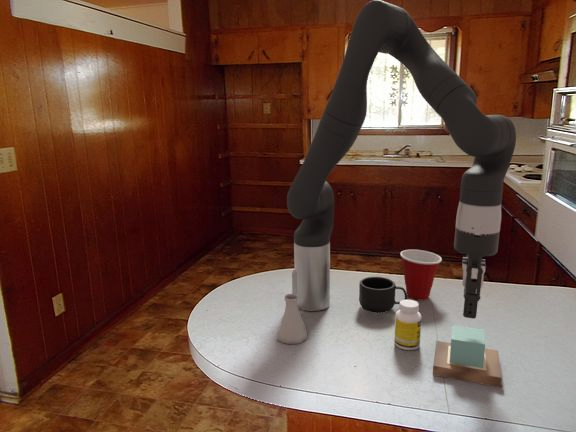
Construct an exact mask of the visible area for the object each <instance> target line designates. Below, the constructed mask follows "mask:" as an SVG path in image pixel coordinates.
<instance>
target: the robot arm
mask: <svg viewBox="0 0 576 432" xmlns="http://www.w3.org/2000/svg"><path fill="white" fill-rule="evenodd" d="M421 31H422V30H420V29H419V27H418V25H417V24H416V22H415V21H414V19H413V18H412V16H411V15H410V14H409V12H408V11H407V10H405V9H404V8H403V7H401V6H398V5H395V4H394V3H393V4H392V3H390V2H387V1H384V0H370V1H369V2H367V3H365V4H364V6H363V7H362V8H361V10H360V11H359V12H358V15H357V16H356V18H355V21H354V24H353V27H352V30H351V34H350V36H349V38H348V39H349V40H348V42H347V46H346V51H345V53H344V57H343V60H342V63H341V66H340V69H339V72H338V75H337V77H336V80H335V83H334V86H333V89H332V91H331V94H330V96H329V98H328V101H327V103H326V105H325V106H324V107H325V108H324V110H323V113H322V116H321V118H320V120H319V122H318V125H317V128H316V131H315V134H314V136H313V139H312V141H311V144H310V146H309V148H308V150H307V153H306V156H305V158H304V161H303V162H302V165H301V166H300V168H299V170H298V172H297V174H296V175H295V177H294V180H293V181H292V183H291V185H290V188H289V190H288V192H287V196H286V206H287V209H288V212H289V214H290V215H291V216H292V217H293V218H295V219H297V220H302V221H301V223H300V224H299V226H298V227H297V228H296V229H295V231H294V233H293V250H294V251H293V253H294V254H293V256H294V257H293V258H294V259H293V260H294V269H293V270H292V271H291V288H292V290H291V294H296V295H298V300H297V306H298V309H300V310H303V311H308V312H318V311H322V310H325V309H327V308H328V307H330V305H331V301H330V300H331V235H332V233H333V229H334V219H335V218H334V217H335V195H334V192H333V189H332V187H331V185H330V184H329V182H328V181H327V180H328V177H329V175H330V174H331V173H332V171H333V170H334V169H335V167H336V166H337V165H338V164H339V163H340V162H341V160H342V159H344V157H345V156H346V155H347V153H349V151H350V149H352V147H353V145H354V144H355V142H356V140H357V138H358V136H359V134H360V131H361V129H362V127H363V125H364V123H365V120H366V117H367V112H368V93H367V91H368V88H367V87H368V79H369V74H370V72H371V69H372V67H373V65H374V62H375V60H376V58H377V55H378V54H379V53H380V54H385V55H389V56H391V57H393V58H394V59H396V60H397V61H398V62H399V63H400V64H402V65H403V66H404V67H405V68H406V69H407V70H408V72H409V73H410V75H411V76H412V78H413V81H414V83H415V86H416V89H417V90H418V92H419V94H420V95H421V97H422V98H423V99H424V101H425V102H426V103H427V104H428V105H429V106H430V107H431V108H432V109H433V111H434V112H435V113H436V114H437V115H438V116H439V117H440V118H441V120H443V123H444V126H445V127H446V129H447V131H448V133H449V135H450V136H451V139H452V140H453V142H454V144H456V146H457V147H458V148H459V149H460V150H461V151H462V152H463V153H464V154H466V155H468V156H471V157H473V158H474V159H473V163H472V166H471V167H470V168H468V169H467V170H466V171H464V173H463V174H462V177H461V181H460V190H459V191H460V192H459V202H458V206H457V211H456V218H455V228H454V229H455V230H454V231H455V232H454V241H453V247H454V250H455V251H456V252H458V253H459V254H462V255H463V254H464V255H465V257H464V256H463V257H462V264H461V265H462V268H461V271H462V283H461V284H462V287H464V288H463V298H464V300H463V302H464V303H463V314H462V315H463V317H464V318H466V319H467V318H468V319H473V320H474V319H476V318H477V313H478V312H477V311H478V302H480V300H481V291H482V290H481V289H482V288H483V286H484V276H485V275H484V274H485V272H486V267H487V266H486V265H487V264H486V259H483V258H485V257H492V256H495V255H496V254H497V253H498V252H499V251H498V250H499V241H500V232H501V224H502V201H503V193H504V182H505V181H504V180H505V178H506V175H507V172H508V170H509V167H510V164H511V162H512V161H511V160H512V158H513V155H514V151H515V149H516V148H515V147H516V143H517V132H516V131H517V130H516V127H515V125H514V123H513V121H512V120H511V119H510V118H509V117H507V116H505V115H502V114H488V115H486V114H484V113H483V112H482V111H481V110H480V109H479V108H478V106H477V103H478V97H477V94H476V93H475V91H474V90H473V89H472V87H470V86H469V85H468V83H466V82H465V81H464V80H463V79H462V78H461V76H459V75H458V74H457V73H456V72H455V70H454V69H452V68H451V66H449V65H448V64H447V62H445V61H444V59H442V57H441V56H440V55H439V54H438V53H437V52H436V50H435V49H434V48H433V47H432V46H431V45H430V43H429V41H428V40H427V39H426V37H425V36H424V35H423V32H421Z"/></svg>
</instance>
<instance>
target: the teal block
mask: <svg viewBox="0 0 576 432" xmlns="http://www.w3.org/2000/svg"><path fill="white" fill-rule="evenodd" d="M450 337H451V340H450V343H451V349H450V363H456V364H462V365H467V366H473V367H479V368H483V364H484V353H485V348H486V335H485V329H482V328H481V329H480V328H474V327H467V326H462V325H454V324H452V327H451V336H450Z"/></svg>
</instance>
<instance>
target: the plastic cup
mask: <svg viewBox="0 0 576 432" xmlns="http://www.w3.org/2000/svg"><path fill="white" fill-rule="evenodd" d="M400 257H401V262H402V266H403V276H404V277H403V278H404V284H405V291H406V293H407V298H409V299H410V300H414V301H426V300H428V299H429V297H430V296H431V290H432V288H433V284H434V280H435V276H436V273H437V269H438V267H439V264H440V263H441V262H442V261H443V259H442V257H441V256H440V255H439V254H436V253H434V252H430V251H428V250H421V249H405V250H402V251H400Z"/></svg>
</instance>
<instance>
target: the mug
mask: <svg viewBox="0 0 576 432" xmlns="http://www.w3.org/2000/svg"><path fill="white" fill-rule="evenodd" d="M358 287H359V289H358V290H359V291H358V292H359V294H358V295H359V296H358V301H359V305H360V306H361V308H362V309H363V310H364V311H367V312H370V313H373V314H383V313H387V312H390V311H392V309H393V308H394V307H395V305H400V301H396V290H401V291H402V292H403V294H404V300H408V296H407V292H406V288H404V287H402V286H396V283H395V281H394V280H392V279H390V278H388V277H382V276H368V277H365V278H363V279H361V280H360V281H359V285H358Z"/></svg>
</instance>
